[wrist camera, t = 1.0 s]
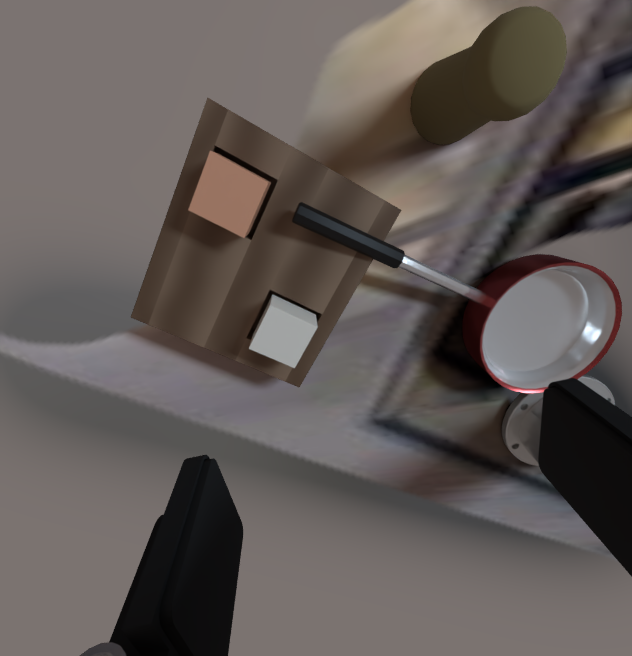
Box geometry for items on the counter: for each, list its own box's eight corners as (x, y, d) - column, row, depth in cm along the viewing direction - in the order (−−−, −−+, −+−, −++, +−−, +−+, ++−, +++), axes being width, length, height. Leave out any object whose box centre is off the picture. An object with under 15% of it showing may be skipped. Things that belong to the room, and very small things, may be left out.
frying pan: (266, 299, 34) (260, 323, 28) (309, 159, 30) (313, 153, 24) (539, 384, 39) (582, 419, 34) (611, 277, 35) (674, 296, 29)
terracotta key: (271, 182, 27) (268, 182, 24) (249, 233, 28) (244, 238, 25) (219, 154, 26) (210, 150, 23) (198, 207, 27) (188, 210, 24)
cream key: (315, 314, 31) (317, 327, 28) (294, 353, 32) (294, 368, 30) (272, 294, 30) (270, 305, 27) (252, 334, 31) (248, 348, 29)
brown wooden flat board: (388, 207, 31) (401, 210, 27) (299, 367, 37) (299, 387, 33) (219, 109, 28) (207, 97, 24) (149, 302, 33) (130, 317, 30)
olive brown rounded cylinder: (426, 159, 30) (493, 146, 20) (398, 84, 28) (457, 27, 18) (493, 120, 29) (599, 86, 19) (470, 40, 27) (575, -47, 17)
